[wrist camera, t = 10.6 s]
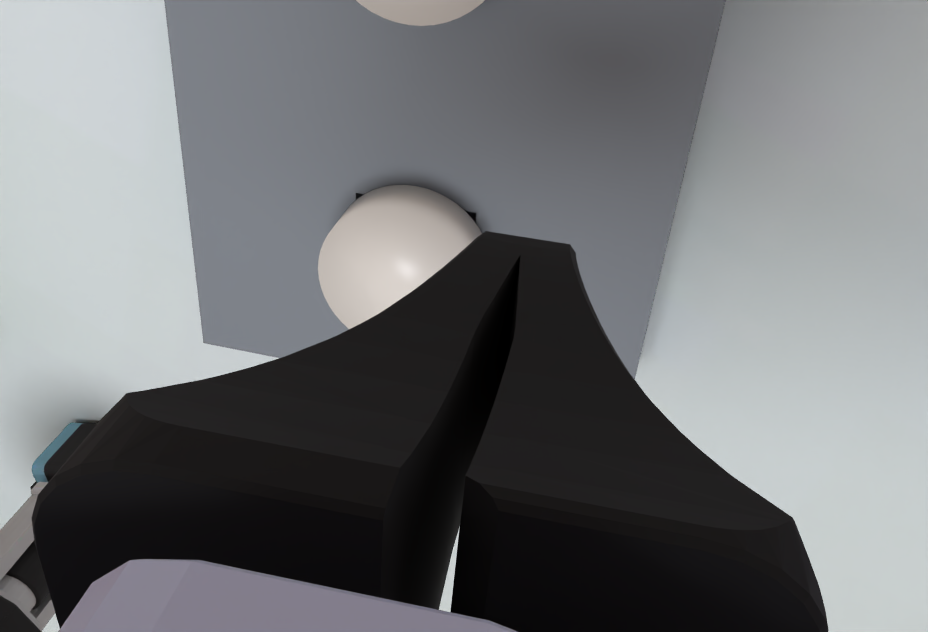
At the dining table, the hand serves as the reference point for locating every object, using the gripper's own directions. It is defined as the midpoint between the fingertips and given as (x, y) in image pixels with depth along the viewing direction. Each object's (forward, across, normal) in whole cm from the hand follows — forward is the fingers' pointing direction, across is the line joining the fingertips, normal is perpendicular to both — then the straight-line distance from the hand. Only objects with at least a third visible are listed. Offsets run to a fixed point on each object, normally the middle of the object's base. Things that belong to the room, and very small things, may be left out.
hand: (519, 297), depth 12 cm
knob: (+9, +3, +4) cm, 11 cm away
